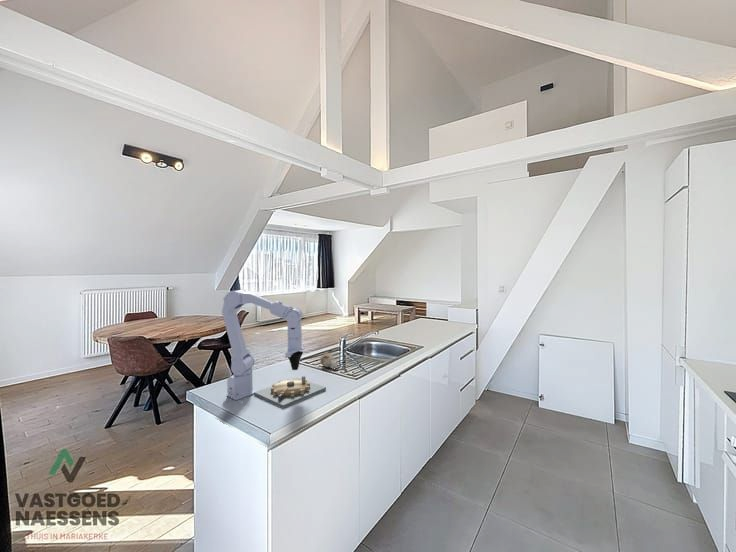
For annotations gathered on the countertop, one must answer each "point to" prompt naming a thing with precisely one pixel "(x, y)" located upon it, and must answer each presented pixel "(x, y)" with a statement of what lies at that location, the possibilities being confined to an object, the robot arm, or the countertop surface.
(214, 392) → the countertop surface
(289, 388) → the sprocket
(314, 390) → the base board
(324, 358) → the beige rounded lump
